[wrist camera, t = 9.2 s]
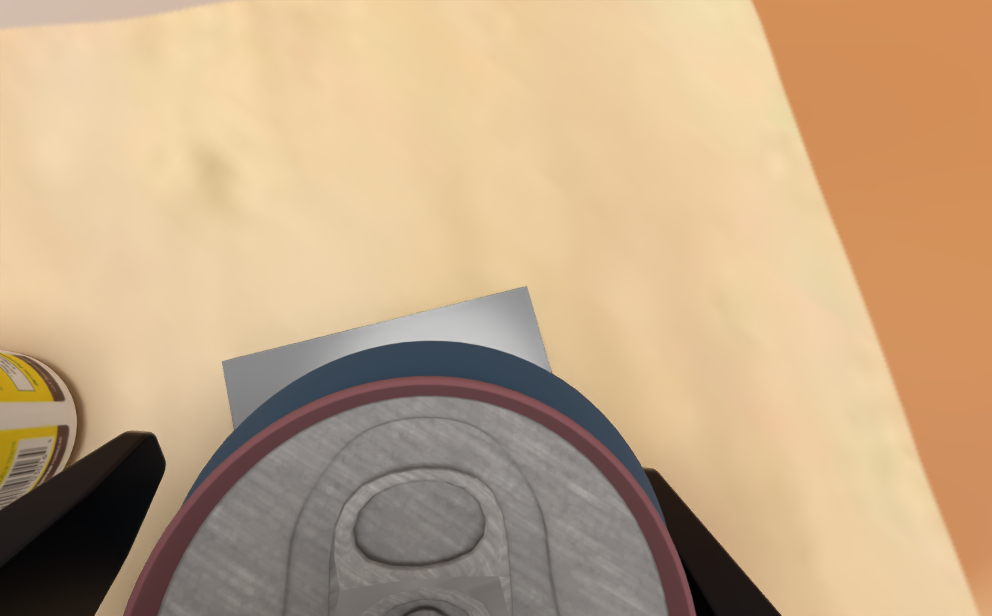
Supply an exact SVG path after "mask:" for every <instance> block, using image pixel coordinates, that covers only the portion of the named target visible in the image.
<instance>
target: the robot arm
mask: <svg viewBox="0 0 992 616" xmlns="http://www.w3.org/2000/svg"><path fill="white" fill-rule="evenodd" d="M165 466H166V462H165V458H164V455H163V453H162V450H161V448H160V445H159V443H158V440H157V438H156V436H155V435H154V434H153V433H152V432H144V431H127V432H125V433H122V434H121V435H119V436H117V437H116V438H114V439H113V440H111V441H109V442H108V443H106V444H105V445H103V446H101V447H100V448H98V449H97V450H95V451H93V452H92V453H90V454H89V455H87V456H85V457H84V458H82V459H81V460H79V461H77V462H76V463H74V464H73V465H71V466H69V467H68V468H66V469H65V470H63V471H61V472H60V473H58V474H57V475H55V476H53V477H52V478H50V479H49V480H47V481H45V482H44V483H42V484H41V485H39V486H37V487H36V488H34V489H33V490H31V491H29V492H28V493H26V494H25V495H23V496H21V497H20V498H18V499H17V500H15V501H13V502H12V503H10V504H9V505H7V506H5V507H4V508H2V509H1V510H0V616H94V615H95V613H96V612H97V610H98V608H99V606H100V604H101V603H102V601H103V599H104V597H105V596H106V594H107V592H108V590H109V588H110V587H111V585H112V583H113V581H114V580H115V578H116V576H117V574H118V572H119V571H120V569H121V567H122V565H123V563H124V561H125V559H126V558H127V556H128V554H129V551H130V549H131V547H132V545H133V543H134V541H135V538H136V536H137V534H138V532H139V529H140V527H141V525H142V522H143V520H144V518H145V516H146V513H147V511H148V509H149V506H150V504H151V502H152V500H153V497H154V495H155V493H156V491H157V488H158V486H159V484H160V481H161V479H162V477H163V474H164V471H165ZM643 470H644V472H645V474H646V475H647V477H648V479H649V481H650V484H651V486H652V488H653V490H654V492H655V495H656V497H657V500H658V502H659V505H660V508H661V510H662V513H663V516H664V519H665V523H666V526H667V530H668V532H669V534H670V537H671V539H672V541H673V543H674V545H675V548H676V550H677V552H678V555H679V558H680V560H681V563H682V566H683V569H684V571H685V574H686V578H687V581H688V584H689V588H690V591H691V595H692V599H693V603H694V608H695V612H696V616H782V615H781V614H780V613H779V612H778V611H777V610H776V608H775V607H774V606H773V605H772V604H771V603H770V601H769V600H768V599H767V598H766V597H765V596H764V594H763V593H762V592H761V591H760V590H759V589H758V588H757V586H756V585H755V584H754V583H753V582H752V581H751V579H750V578H749V577H748V576H747V575H746V574H745V572H744V571H743V570H742V569H741V568H740V567H739V565H738V564H737V563H736V562H735V561H734V560H733V558H732V557H731V556H730V555H729V554H728V553H727V551H726V550H725V549H724V548H723V547H722V546H721V544H720V543H719V542H718V541H717V540H716V539H715V538H714V536H713V535H712V534H711V533H710V532H709V531H708V529H707V528H706V527H705V526H704V525H703V524H702V522H701V521H700V520H699V519H698V518H697V517H696V515H695V514H694V513H693V512H692V511H691V510H690V508H689V507H688V506H687V505H686V504H685V503H684V501H683V500H682V499H681V498H680V497H679V496H678V494H677V493H676V492H675V491H674V490H673V489H672V488H671V486H670V485H669V484H668V483H667V482H666V481H665V479H664V478H663V477H662V476H661V475H660V474H659V472H658V471H656V470H655V469H652V468H643Z"/></svg>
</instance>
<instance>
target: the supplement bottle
mask: <svg viewBox="0 0 992 616" xmlns="http://www.w3.org/2000/svg"><path fill="white" fill-rule="evenodd" d="M76 430H77V416H76V409H75V405H74V402H73V399H72V396H71V394H70V392H69V390H68V388H67V386H66V385H65V384H64V382H63V381H62V380H61V378H60V377H59V376H58V375H57V374H56V373H55V372H54V371H53V370H51V369H50V368H49V367H48V366H46V365H45V364H43V363H42V362H40V361H38V360H36V359H34V358H32V357H29V356H26V355H23V354H20V353H16V352H11V351H5V350H0V510H1V509H2V508H4V507H5V506H7V505H9V504H10V503H12V502H13V501H15V500H17V499H18V498H20V497H21V496H23V495H25V494H26V493H28V492H29V491H31V490H33V489H34V488H36V487H37V486H39V485H41V484H42V483H44V482H45V481H47V480H49V479H50V478H52V477H53V476H55V475H57V474H58V473H60V472H61V471H62V470H63V468H64V467H65V465H66V463H67V461H68V459H69V457H70V454H71V452H72V449H73V446H74V442H75V437H76Z"/></svg>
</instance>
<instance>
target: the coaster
mask: <svg viewBox="0 0 992 616" xmlns="http://www.w3.org/2000/svg"><path fill="white" fill-rule="evenodd" d="M411 341H453V342H463V343H469V344H475V345H480V346H485V347H489V348H493V349H497V350H500V351H503V352H506V353H509V354H512V355H515V356H517V357H520V358H522V359H524V360H527V361H529V362H531V363H533V364H535V365H537V366H539V367H541V368H543V369H545V370H547V371H549V372H550V373H552V372H551V368H550V365H549V361H548V358H547V354H546V351H545V348H544V344H543V341H542V337H541V334H540V330H539V327H538V323H537V320H536V316H535V313H534V309H533V306H532V302H531V299H530V296H529V292H528V289H527V286H526V287H522V288H517V289H513V290H509V291H505V292H501V293H497V294H493V295H489V296H485V297H481V298H477V299H473V300H469V301H465V302H461V303H457V304H453V305H449V306H445V307H440V308H436V309H432V310H428V311H424V312H420V313H416V314H412V315H408V316H404V317H400V318H396V319H392V320H388V321H384V322H380V323H376V324H372V325H367V326H363V327H359V328H355V329H351V330H347V331H343V332H339V333H335V334H331V335H327V336H323V337H319V338H315V339H311V340H307V341H303V342H299V343H294V344H290V345H286V346H282V347H278V348H274V349H270V350H266V351H262V352H258V353H254V354H250V355H246V356H242V357H238V358H234V359H230V360H226V361H222V365H223V370H224V376H225V382H226V387H227V393H228V398H229V404H230V409H231V415H232V421H233V426H234V430H235V429H236V428H237V427H238V426H239V425H240V424H241V423H242V422H243V421H244V420H245V419H246V418H247V417H248V416H249V415H251V414H252V413H253V412H254V411H255V410H256V409H257V408H258V407H259V406H261V405H262V404H263V403H264V402H266V401H267V400H268V399H269V398H271V397H272V396H273V395H274V394H276V393H277V392H279V391H280V390H282V389H283V388H284V387H286V386H287V385H289V384H290V383H292V382H293V381H295V380H297V379H298V378H300V377H302V376H304V375H305V374H307V373H309V372H311V371H313V370H315V369H317V368H319V367H321V366H323V365H325V364H327V363H329V362H331V361H334V360H337V359H339V358H342V357H344V356H347V355H349V354H353V353H356V352H359V351H362V350H366V349H370V348H374V347H378V346H383V345H388V344H394V343H401V342H411Z"/></svg>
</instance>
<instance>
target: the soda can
mask: <svg viewBox="0 0 992 616" xmlns="http://www.w3.org/2000/svg"><path fill="white" fill-rule="evenodd" d="M123 616H696V612H695V608H694V603H693V599H692V595H691V591H690V588H689V584H688V581H687V578H686V574H685V571H684V569H683V566H682V563H681V560H680V558H679V555H678V552H677V550H676V548H675V545H674V543H673V541H672V539H671V537H670V534H669V532H668V530H667V526H666V523H665V519H664V516H663V513H662V510H661V508H660V505H659V502H658V500H657V497H656V495H655V492H654V490H653V488H652V486H651V484H650V481H649V479H648V477H647V475H646V474H645V472H644V470H643V468H642V466H641V464H640V462H639V461H638V459H637V458H636V456H635V455H634V453H633V451H632V450H631V448H630V447H629V445H628V444H627V443H626V441H625V440H624V439H623V437H622V436H621V435H620V433H619V432H618V431H617V429H616V428H615V427H614V426H613V425H612V424H611V422H610V421H609V420H608V419H607V418H606V417H605V416H604V415H603V414H602V413H601V412H600V411H599V410H598V409H597V408H596V407H595V406H594V405H593V404H592V403H591V402H590V401H589V400H588V399H587V398H585V397H584V396H583V395H582V394H581V393H579V392H578V391H577V390H576V389H574V388H573V387H572V386H570V385H569V384H567V383H566V382H565V381H563V380H562V379H560V378H559V377H557V376H555V375H554V374H552V373H550V372H549V371H547V370H545V369H543V368H541V367H539V366H537V365H535V364H533V363H531V362H529V361H527V360H524V359H522V358H520V357H517V356H515V355H512V354H509V353H506V352H503V351H500V350H497V349H493V348H489V347H485V346H480V345H475V344H469V343H463V342H453V341H411V342H401V343H394V344H388V345H383V346H378V347H374V348H370V349H366V350H362V351H359V352H356V353H353V354H349V355H347V356H344V357H342V358H339V359H337V360H334V361H331V362H329V363H327V364H325V365H323V366H321V367H319V368H317V369H315V370H313V371H311V372H309V373H307V374H305V375H304V376H302V377H300V378H298V379H297V380H295V381H293V382H292V383H290V384H289V385H287V386H286V387H284V388H283V389H282V390H280V391H279V392H277V393H276V394H274V395H273V396H272V397H271V398H269V399H268V400H267V401H266V402H264V403H263V404H262V405H261V406H259V407H258V408H257V409H256V410H255V411H254V412H253V413H252V414H251V415H249V416H248V417H247V418H246V419H245V420H244V421H243V422H242V423H241V424H240V425H239V426H238V427H237V428H236V429H235V430H234V431H233V432H232V433H231V435H230V436H229V437H228V438H227V439H226V440H225V441H224V443H223V444H222V445H221V446H220V447H219V449H218V450H217V451H216V452H215V454H214V455H213V456H212V458H211V459H210V460H209V462H208V463H207V465H206V466H205V467H204V469H203V470H202V472H201V473H200V475H199V476H198V478H197V480H196V481H195V483H194V485H193V486H192V488H191V490H190V491H189V493H188V495H187V497H186V499H185V501H184V503H183V505H182V506H181V508H180V510H179V511H178V513H177V514H176V515H175V517H174V518H173V520H172V521H171V522H170V524H169V525H168V527H167V528H166V530H165V531H164V533H163V534H162V536H161V538H160V539H159V541H158V543H157V544H156V546H155V548H154V549H153V551H152V552H151V554H150V556H149V558H148V560H147V562H146V564H145V566H144V568H143V570H142V572H141V574H140V576H139V578H138V580H137V582H136V585H135V587H134V589H133V592H132V594H131V596H130V598H129V601H128V603H127V606H126V609H125V612H124V615H123Z"/></svg>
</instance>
